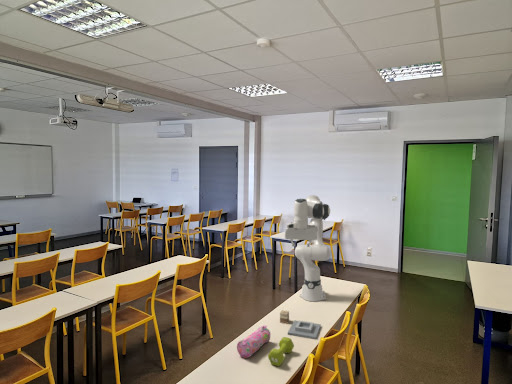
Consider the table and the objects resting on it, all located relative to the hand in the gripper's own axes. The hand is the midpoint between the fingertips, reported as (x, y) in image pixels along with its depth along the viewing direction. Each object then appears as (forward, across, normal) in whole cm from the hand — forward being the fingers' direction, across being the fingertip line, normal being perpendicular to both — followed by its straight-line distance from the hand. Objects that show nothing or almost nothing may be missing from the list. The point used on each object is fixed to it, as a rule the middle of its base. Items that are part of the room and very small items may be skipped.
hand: (301, 246), depth 205 cm
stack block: (+45, +9, +10) cm, 47 cm away
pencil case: (+46, +20, +44) cm, 66 cm away
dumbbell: (+46, +5, +49) cm, 67 cm away
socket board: (+45, -4, +18) cm, 49 cm away
